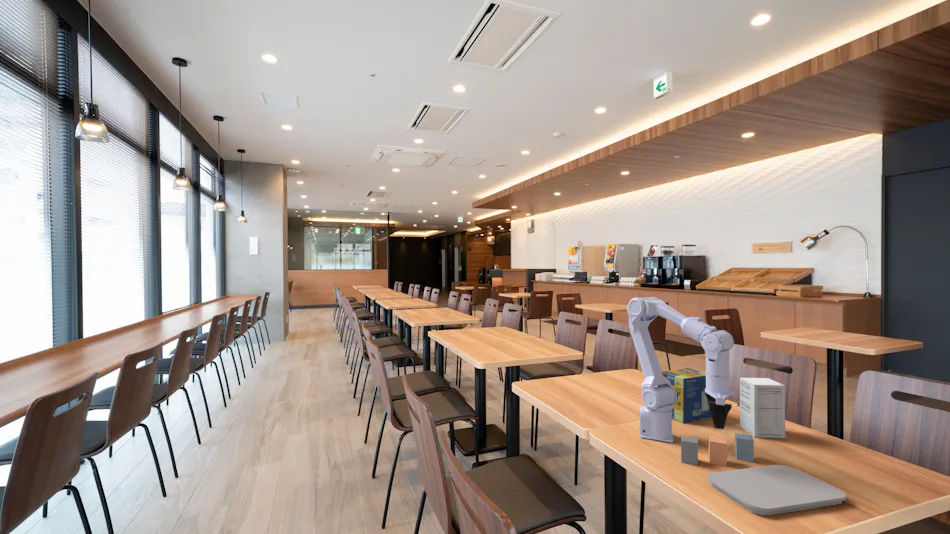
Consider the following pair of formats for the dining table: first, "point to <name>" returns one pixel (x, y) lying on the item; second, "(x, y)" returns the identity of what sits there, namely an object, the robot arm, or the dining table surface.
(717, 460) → the terracotta block
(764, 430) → the supplement box
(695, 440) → the gray block
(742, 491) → the tablet
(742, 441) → the slate-blue block
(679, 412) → the protein box
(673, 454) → the dining table surface
